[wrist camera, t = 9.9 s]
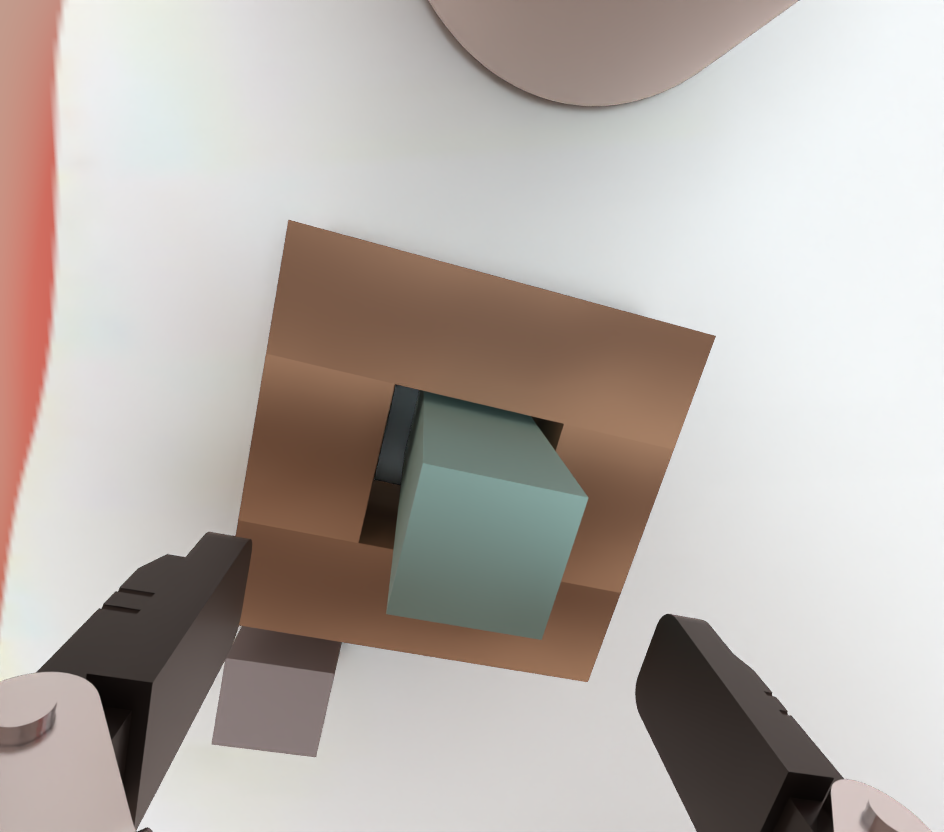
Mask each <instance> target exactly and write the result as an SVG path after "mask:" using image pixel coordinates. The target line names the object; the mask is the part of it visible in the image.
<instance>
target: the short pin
mask: <svg viewBox="0 0 944 832" xmlns="http://www.w3.org/2000/svg"><path fill="white" fill-rule="evenodd" d="M341 643H342V642H338V641H332V640H326V639H320V638H314V637H307V636H301V635H295V634H289V633H283V632H277V631H270V630H264V629H258V628H252V627H246V626H242V627H241V629H240V631H239V633H238V635H237V637H236V639H235V641H234V643H233V645H232V647H231V649H230V651H229V653H228V655H227V657H226V659H225V665H224V671H223V677H222V683H221V690H220V696H219V702H218V708H217V714H216V720H215V726H214V732H213V739H212V744H213V745H221V746H229V747H237V748H245V749H254V750H262V751H270V752H278V753H286V754H294V755H302V756H310V757H316V755H317V750H318V746H319V741H320V737H321V733H322V728H323V724H324V719H325V715H326V710H327V706H328V701H329V697H330V692H331V688H332V683H333V679H334V674H335V670H336V665H337V661H338V657H339V652H340V648H341Z"/></svg>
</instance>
